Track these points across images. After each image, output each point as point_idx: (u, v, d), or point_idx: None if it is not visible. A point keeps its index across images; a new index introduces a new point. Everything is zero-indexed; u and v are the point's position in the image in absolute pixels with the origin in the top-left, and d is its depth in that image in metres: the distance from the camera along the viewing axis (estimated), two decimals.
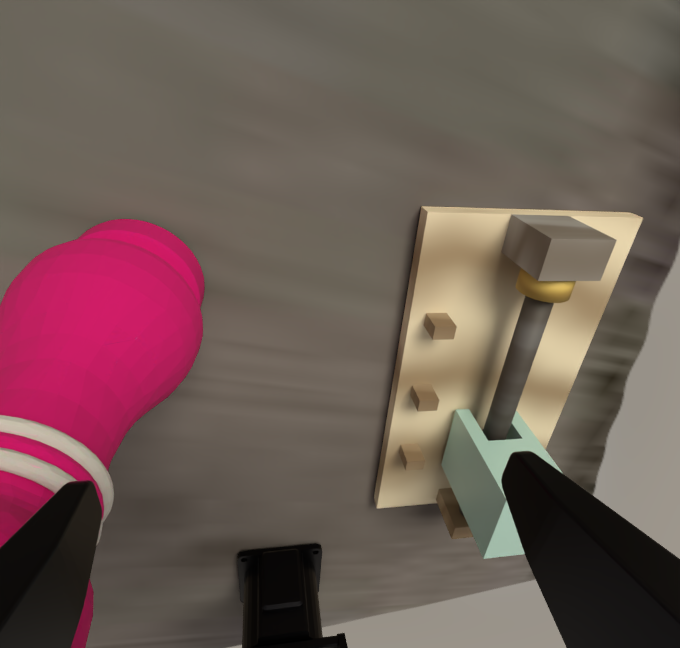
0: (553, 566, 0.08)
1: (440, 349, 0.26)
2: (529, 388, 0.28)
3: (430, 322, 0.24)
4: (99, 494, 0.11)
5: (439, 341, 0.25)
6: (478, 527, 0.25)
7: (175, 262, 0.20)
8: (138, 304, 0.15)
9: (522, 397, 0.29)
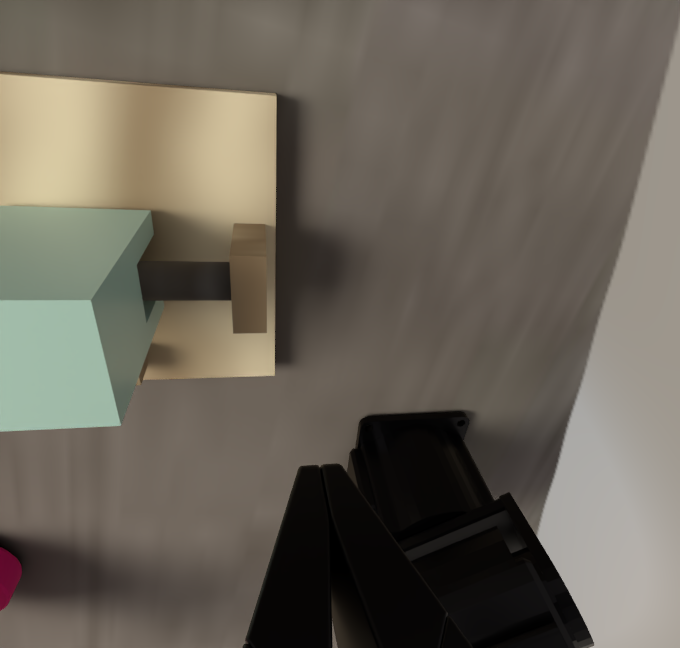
0: (334, 592, 0.07)
1: None
2: None
3: None
4: None
5: None
6: None
7: None
8: None
9: None
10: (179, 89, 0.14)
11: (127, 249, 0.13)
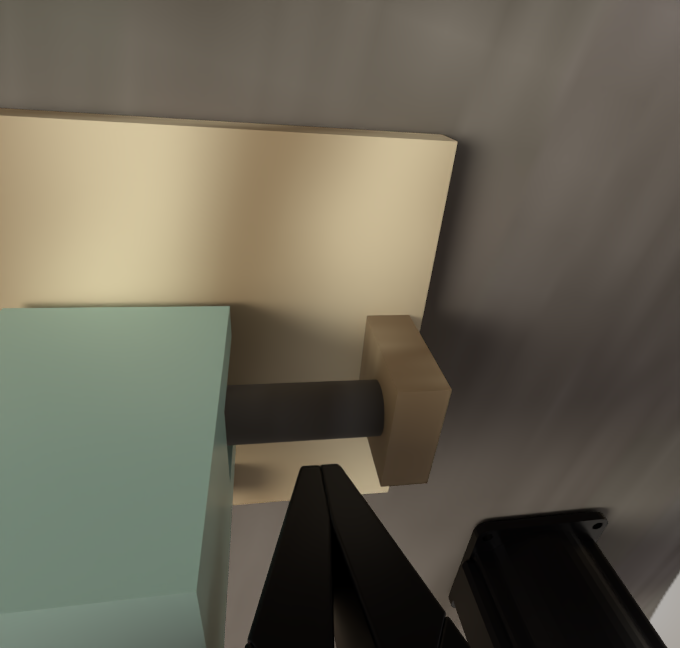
0: (333, 592, 0.07)
1: None
2: None
3: None
4: None
5: None
6: None
7: None
8: None
9: (10, 275, 0.10)
10: (318, 135, 0.09)
11: (219, 404, 0.08)
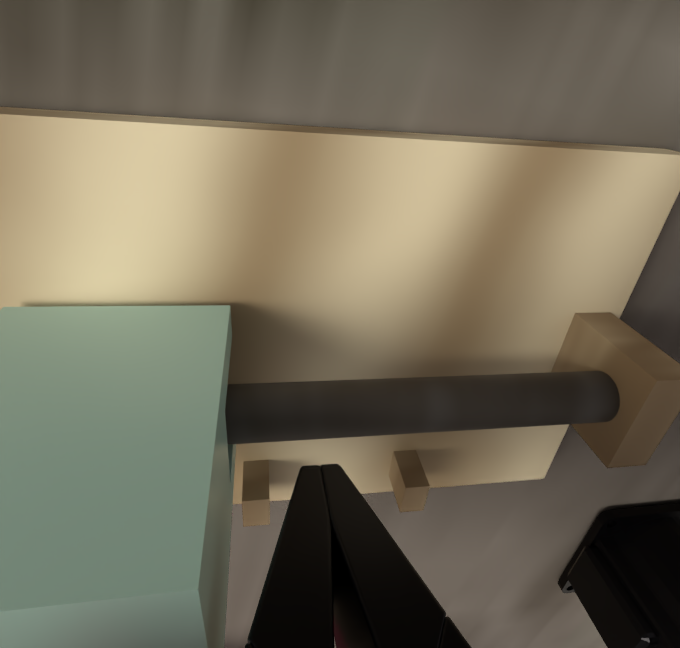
0: (333, 592, 0.07)
1: None
2: (264, 266, 0.11)
3: None
4: None
5: None
6: None
7: None
8: None
9: (292, 275, 0.11)
10: (583, 150, 0.10)
11: (220, 403, 0.08)
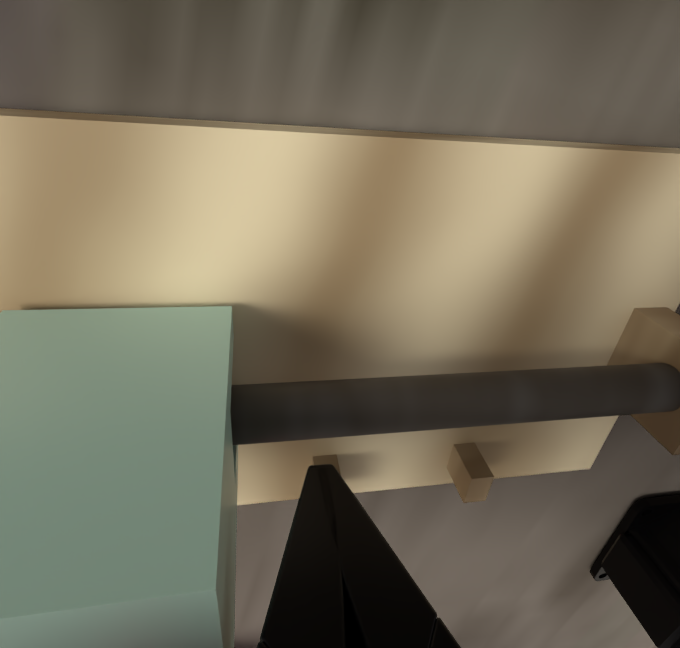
0: None
1: None
2: (353, 266, 0.11)
3: None
4: None
5: None
6: None
7: None
8: None
9: (378, 275, 0.11)
10: (656, 153, 0.11)
11: (227, 404, 0.08)
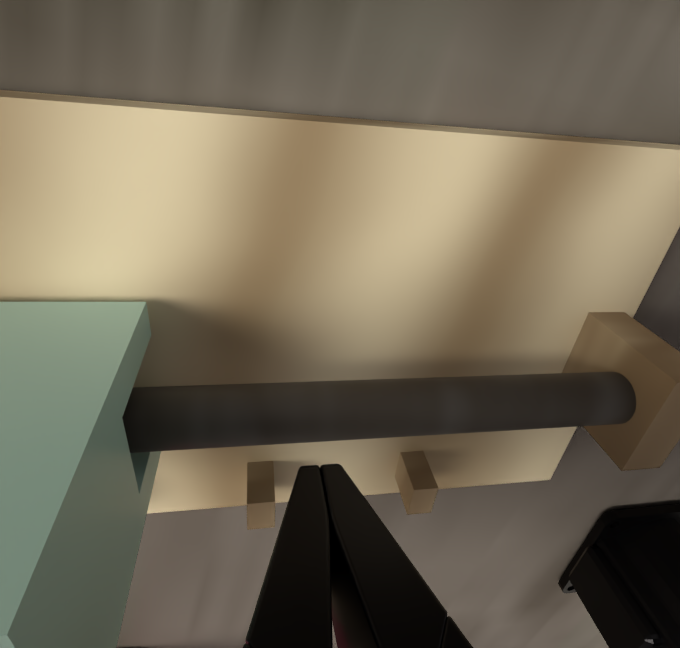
0: (334, 592, 0.07)
1: (161, 464, 0.13)
2: (274, 261, 0.10)
3: None
4: None
5: None
6: None
7: None
8: None
9: (303, 271, 0.11)
10: (604, 145, 0.10)
11: (104, 410, 0.07)
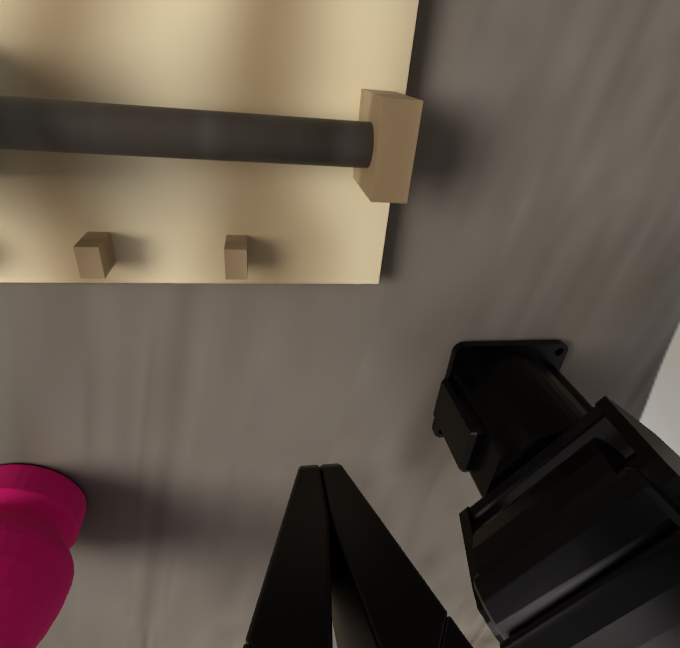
0: (334, 592, 0.07)
1: (10, 225, 0.16)
2: (64, 8, 0.13)
3: None
4: None
5: None
6: None
7: None
8: None
9: (91, 21, 0.13)
10: None
11: None
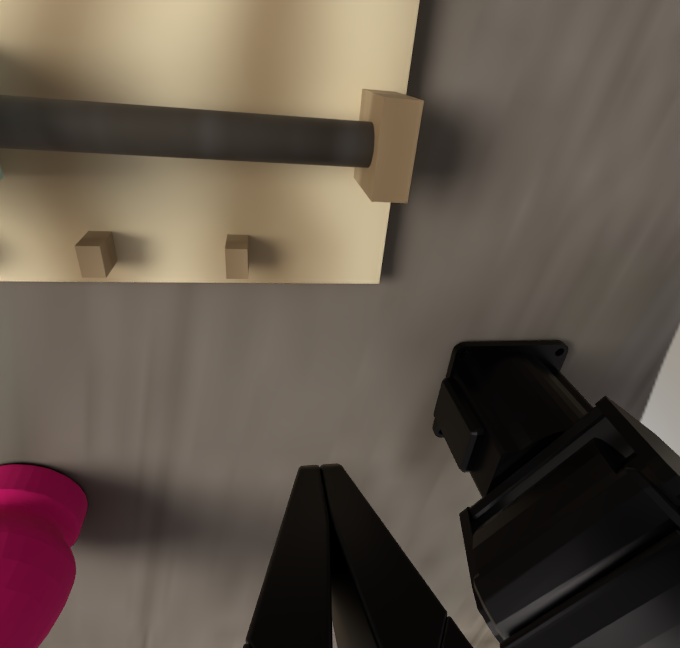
0: (334, 592, 0.07)
1: (11, 224, 0.16)
2: (66, 8, 0.13)
3: None
4: None
5: None
6: None
7: None
8: None
9: (93, 21, 0.13)
10: None
11: None
